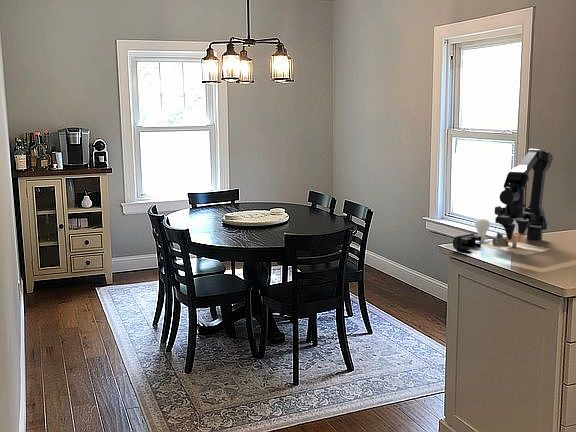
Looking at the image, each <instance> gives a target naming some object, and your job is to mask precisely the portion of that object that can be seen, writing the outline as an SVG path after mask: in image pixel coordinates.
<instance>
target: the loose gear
mask: <svg viewBox="0 0 576 432" xmlns="http://www.w3.org/2000/svg"><path fill="white" fill-rule="evenodd" d="M505 234H506V233H505ZM514 234H515V235H514ZM505 237H506V241H508V242H514V243H523V242H524V234H521V233H518V232H513V235H512V238H511V240H508V237H507V234H506V236H505Z"/></svg>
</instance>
